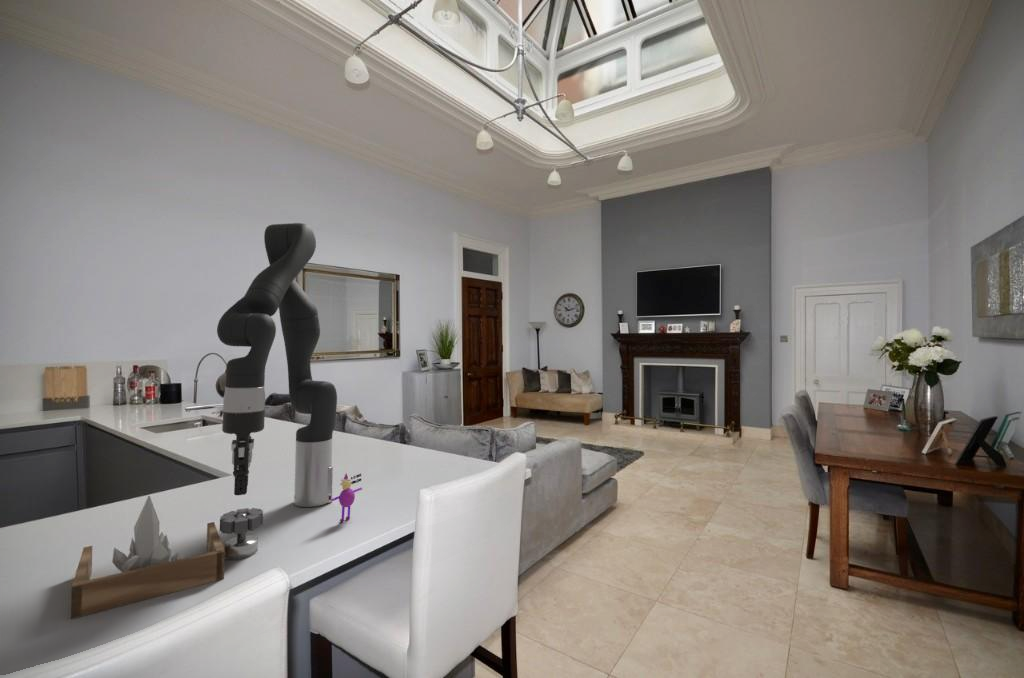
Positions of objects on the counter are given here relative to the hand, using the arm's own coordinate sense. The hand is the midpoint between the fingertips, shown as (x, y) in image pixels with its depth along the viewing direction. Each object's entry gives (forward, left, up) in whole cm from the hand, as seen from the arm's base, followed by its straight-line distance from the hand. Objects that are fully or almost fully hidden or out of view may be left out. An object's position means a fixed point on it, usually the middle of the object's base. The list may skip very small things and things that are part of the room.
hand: (241, 490), depth 94 cm
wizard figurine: (-22, -8, -13) cm, 27 cm away
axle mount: (0, 0, -13) cm, 13 cm away
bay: (+14, +3, -13) cm, 19 cm away
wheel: (0, 0, -8) cm, 8 cm away
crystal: (+14, +4, -13) cm, 20 cm away
